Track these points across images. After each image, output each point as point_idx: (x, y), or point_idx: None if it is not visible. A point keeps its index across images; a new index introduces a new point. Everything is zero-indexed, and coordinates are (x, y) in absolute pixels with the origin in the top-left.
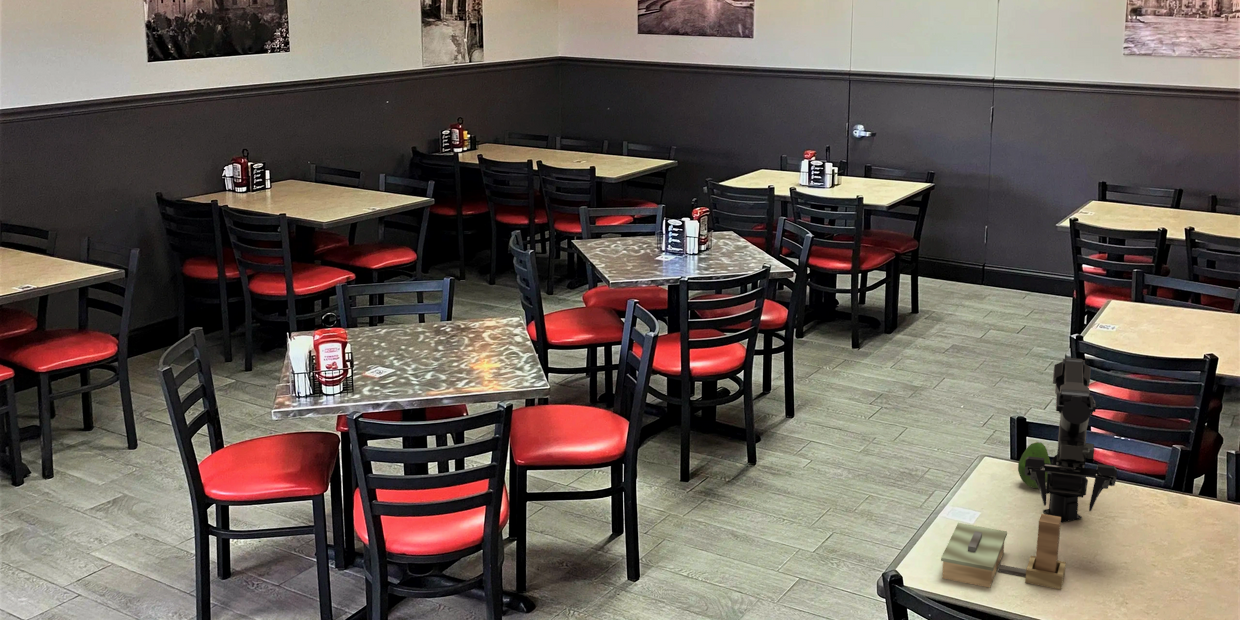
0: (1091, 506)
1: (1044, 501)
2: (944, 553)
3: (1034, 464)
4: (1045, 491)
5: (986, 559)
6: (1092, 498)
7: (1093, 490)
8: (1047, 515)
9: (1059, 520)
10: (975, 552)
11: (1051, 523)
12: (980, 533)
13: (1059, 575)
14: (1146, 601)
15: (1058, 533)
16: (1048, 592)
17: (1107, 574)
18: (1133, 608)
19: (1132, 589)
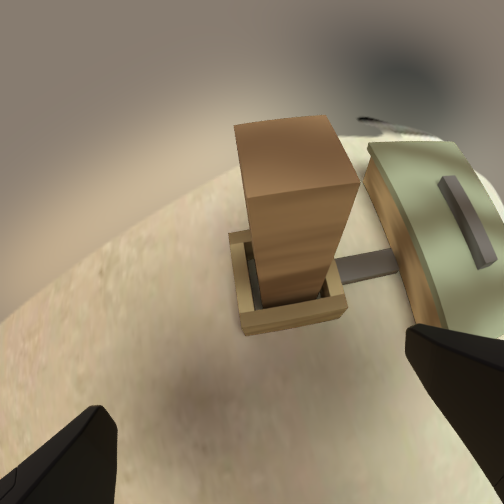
0: (82, 417)
1: (426, 328)
2: (463, 157)
3: None
4: (480, 355)
5: (401, 167)
6: (52, 453)
7: (17, 496)
8: (323, 178)
9: (243, 157)
10: (437, 186)
11: (268, 120)
12: (484, 254)
13: (235, 234)
14: (69, 299)
15: (241, 174)
16: None
17: (147, 395)
18: (90, 258)
19: (91, 341)
